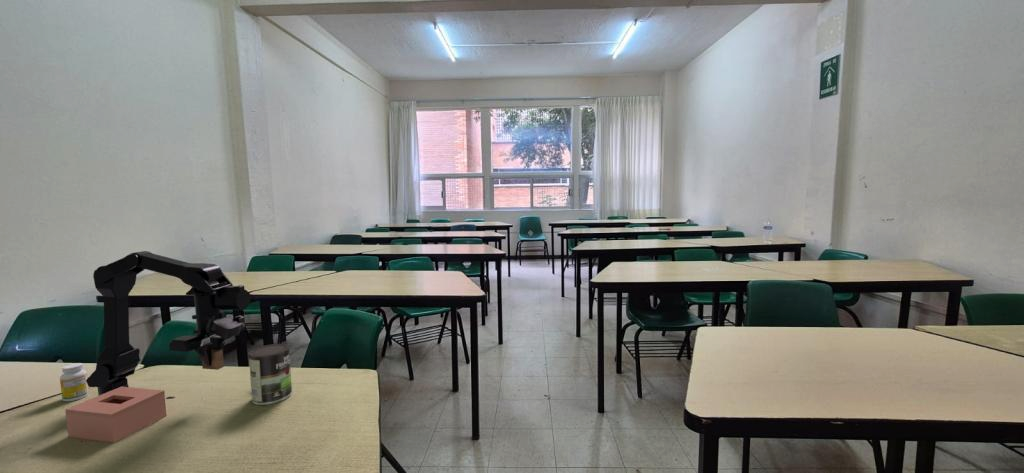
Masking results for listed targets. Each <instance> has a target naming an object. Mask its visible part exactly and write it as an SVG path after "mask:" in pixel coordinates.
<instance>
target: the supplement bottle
mask: <svg viewBox="0 0 1024 473" xmlns="http://www.w3.org/2000/svg"><path fill="white" fill-rule="evenodd" d="M61 371H62V374H61V375H60V377H59V382H60V391H61V400H62V401H63V402H72V401H73V402H74V401H77V400H81V399H84V398H85V397H87V396H89V395H90V394H89V393H90V391H89V389H90V388H89V386H88V384H87V382H86V380H87V379H88V372H87V371H86V370H85V369H84V365H83V363H81V362H78V363H77V362H76V363H72V364H68V365H64V366H62V370H61Z"/></svg>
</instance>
